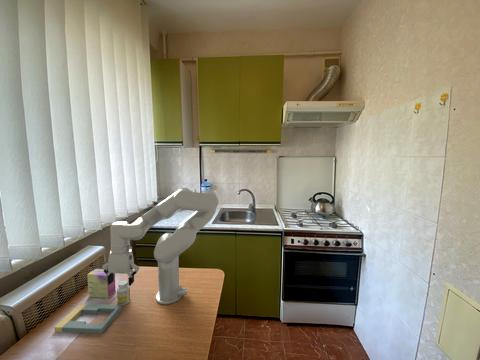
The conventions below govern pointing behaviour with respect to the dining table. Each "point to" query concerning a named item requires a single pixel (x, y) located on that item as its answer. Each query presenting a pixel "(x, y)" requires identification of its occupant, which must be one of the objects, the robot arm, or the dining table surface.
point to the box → (100, 284)
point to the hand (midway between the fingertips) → (121, 283)
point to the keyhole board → (80, 326)
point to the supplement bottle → (123, 292)
